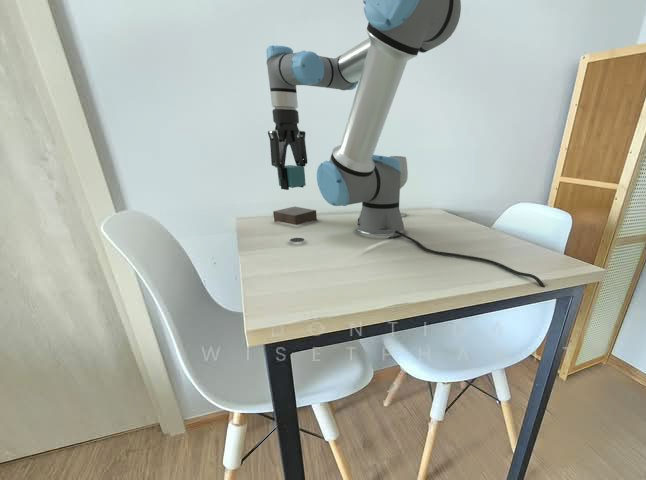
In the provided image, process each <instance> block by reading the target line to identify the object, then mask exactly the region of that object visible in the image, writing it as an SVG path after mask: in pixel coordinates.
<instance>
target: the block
mask: <svg viewBox="0 0 646 480" xmlns="http://www.w3.org/2000/svg"><path fill="white" fill-rule="evenodd" d="M284 168H287V175H288V185H289V189H293V188H302V187H301V186H304V187H305V186H307V183H306V173H305V172H306V171H305V167H304V166H297V165H294V164H287V165H286V164H285V167H284ZM276 170H277V171H276V172H278V168H276ZM277 178H278V186H279V187H281V183H280V179H279V176H278V175H277Z"/></svg>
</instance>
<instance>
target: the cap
mask: <svg viewBox="0 0 646 480" xmlns="http://www.w3.org/2000/svg"><path fill="white" fill-rule="evenodd" d="M289 241H290V242H293V243H300V242H303V241H305V238H303V237H293V238H290V239H289Z"/></svg>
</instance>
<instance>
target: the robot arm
mask: <svg viewBox="0 0 646 480" xmlns="http://www.w3.org/2000/svg"><path fill="white" fill-rule="evenodd" d="M362 3H363V4H364V6H363V13H364V17H365V18H366V20H367V22H368V23H367V27H366V33H367V35H368V38H366V39H365V40H363V41H361V42H360V43H358V44H357V45H355V46H354V47H352V48H350V49H348V50H347V51H346V52H344V53H342V54H340V55H338V56H337V57H334V58H333V57H327V56H321V55H318V54H317V53H316V52H314V51H311V50H301V51H298V52H294V50H293V49H292V48H291V47H289V46H286V45H277V44H276V45H268V46H267V47H266V50H265V51H266V52H265V53H266V67H267V74H268V75H267V76H268V83H269V90H270V102H271V107H272V108H273V109H272V121H273V122H274V124H275V127H274V129H273V130H268V131H267V135H268V138H269V148H270V161H271V166H273V167H274V168H276V169H277V168H278V171H277V177H278V176H279V179H280V183H281V186H280V189H281V190H285V191H290V187H289V185H288V175H287V168H284V167H285V166H286V160H287V159H286V158H287V150H288V146H290V151H291V152H292V155H293V160H294V162H295V163H294V164H295V166H303V167H304V168H305V167H306V165H307V164H308V155H307V146H306V131H304V130H300V129H299V126H298V124H299V123H300V116H299V111H298V110H297V109H298V108H299V105H298V92H297V91H298V90H297V86H309V87H317V88H326V89H333V90H340V91H353V90H354V89H356V91H355V94H354V98H353V101H352V105H351V107H350V108H351V109H350V111H349V115H348V118H347V122H346V125H345V130H344V132H343V135H342V139H341V142H340V144H339V145H337V146H335V147H333V149H332V151H331V152H332V153H331V154H330V158H329V160H325V161H323V162H321V163H320V164H319V165H318V167H317V170H316V182H317V187H318V189H319V192H320V194H321V196H322V198H323V199H324V200H325V201H326V203H328V204H329V205H331V206H333V207H341V206H342V207H347V206H350V205H355V204H361V209H360V214H359V217H357V218H358V219H357V222H356V223H357V224H356V231H357V232H359V233H361V234H363V235H367V236H374V237H388V239H392V238H397V237H400V236H401V237H403V238H405V239H407V240H409V241H411V242H413V243H414V244H416V245H417V246H418V247H420V248H421V249H422V250H423V251H426V252H428V253H432V254H435V255H441V256H449V257H457V258H463V259H469V260H474V261H475V260H476V261H479V262H485V263H488V264H492V265H494V266H497V267H500V268H502V269H504V270H506V271H508V272H510V273H512V274H515V275H517V276H521V277H527V278H531V279H533V280H535V281H536V282H537V283H538V284H539V286H540V287H541V288H546V285H545V284H544V283H543V281H542V280H541V279H540V278H539V277H538V276H537V275H534V274H531V273H529V272H521V271H518V270H515V269H513V268H511V267H509V266H507V265H505V264H503V263H500V262H498V261H495V260H492V259H487V258H483V257H479V256H472V255H468V254H467V255H466V254H462V253H461V254H460V253H455V252H446V251H439V250H434V249H431V248H427V247H426V246H424V245H423V244H422V243H420V242H419V241H418V240H416V239H414V238H412V237H410V236H408V235H406V234H404V233H405V225H404V220H403V217H401V213H402V212H401V210H400V198H401V194H400V193H401V189H400V175H401V171H400V161H399V160H398V159H397V158H393V157H390V156H387V155H379V154H375V151H376V148H377V146H378V143H379V140H380V137H381V136H382V135H381V134H382V132H383V129H384V126H385V124H386V121H387V118H388V115H389V112H390V110H391V107H392V105H393V102H394V99H395V96H396V93H397V91H398V88H399V85H400V83H401V80H402V77H403V74H404V72H405V69H406V66H407V64H408V61H410V60H412V59H414V58H417V56H418V54H419V53H420V54H424V53H427V52H429V51H431V50H433V49H435V48H436V47H439V46H441V45H443V44H444V43H445V42H446V41H448V39H450V37H452V35H453V34H454V32H455V31H456V29H457V27H458V25H459V22H460V18H461V11H462V1H461V0H362ZM300 188H305V186H301V187H300Z"/></svg>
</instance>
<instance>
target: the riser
mask: <svg viewBox="0 0 646 480" xmlns="http://www.w3.org/2000/svg"><path fill="white" fill-rule="evenodd" d="M272 214H273V221H274V223H277V222H280V223H285V224H288V225H289V224H290V225H295V226H297V225H301V224H304V223H309V222H312V221H315V222H318V217H317V210H316V209H311V208H306V207H299V206H291V207H286V208H282V209H278V210H273V211H272Z"/></svg>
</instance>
